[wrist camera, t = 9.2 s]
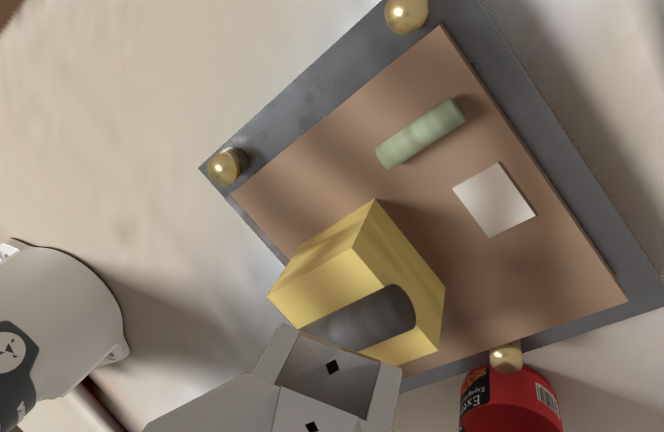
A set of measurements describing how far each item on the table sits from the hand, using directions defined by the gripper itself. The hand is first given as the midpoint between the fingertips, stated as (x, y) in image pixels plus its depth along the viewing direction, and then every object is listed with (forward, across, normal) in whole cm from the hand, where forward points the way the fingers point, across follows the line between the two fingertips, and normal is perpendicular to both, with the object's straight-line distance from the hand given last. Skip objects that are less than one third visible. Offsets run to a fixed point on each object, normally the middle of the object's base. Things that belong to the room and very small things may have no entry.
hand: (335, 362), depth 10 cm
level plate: (+20, -1, +8) cm, 21 cm away
